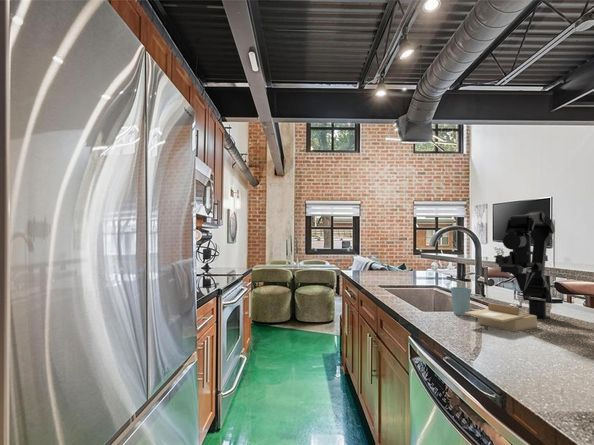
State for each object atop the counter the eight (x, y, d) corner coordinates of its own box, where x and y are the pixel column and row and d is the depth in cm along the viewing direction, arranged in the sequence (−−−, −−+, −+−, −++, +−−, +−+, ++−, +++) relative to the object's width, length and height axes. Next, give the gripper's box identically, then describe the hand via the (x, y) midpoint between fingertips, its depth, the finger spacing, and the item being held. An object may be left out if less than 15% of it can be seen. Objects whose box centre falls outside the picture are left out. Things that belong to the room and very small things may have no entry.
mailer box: (499, 319, 135) (499, 309, 135) (536, 327, 124) (536, 315, 124) (477, 324, 127) (477, 312, 128) (515, 332, 116) (515, 320, 117)
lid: (487, 310, 131) (487, 302, 131) (525, 317, 120) (525, 308, 120) (464, 314, 123) (464, 305, 124) (502, 321, 112) (502, 312, 113)
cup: (458, 311, 150) (458, 286, 150) (475, 315, 143) (475, 289, 143) (446, 313, 146) (446, 287, 146) (463, 316, 139) (463, 290, 140)
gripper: (512, 247, 143) (513, 286, 142) (485, 248, 133) (486, 290, 133) (543, 248, 133) (544, 290, 133) (516, 249, 124) (517, 294, 123)
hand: (522, 291), depth 131 cm, fingers closed
